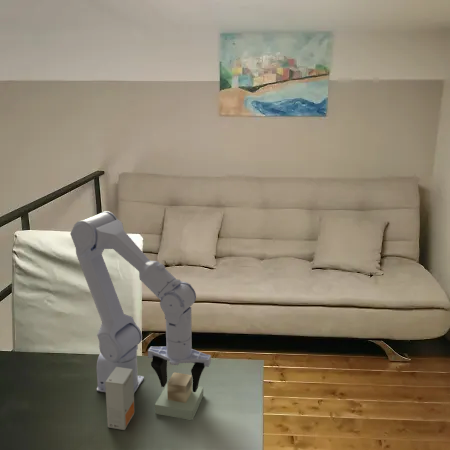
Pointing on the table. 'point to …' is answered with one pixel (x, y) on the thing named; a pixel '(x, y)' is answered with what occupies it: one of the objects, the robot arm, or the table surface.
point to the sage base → (179, 405)
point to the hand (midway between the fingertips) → (179, 387)
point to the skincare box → (120, 398)
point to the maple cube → (179, 387)
